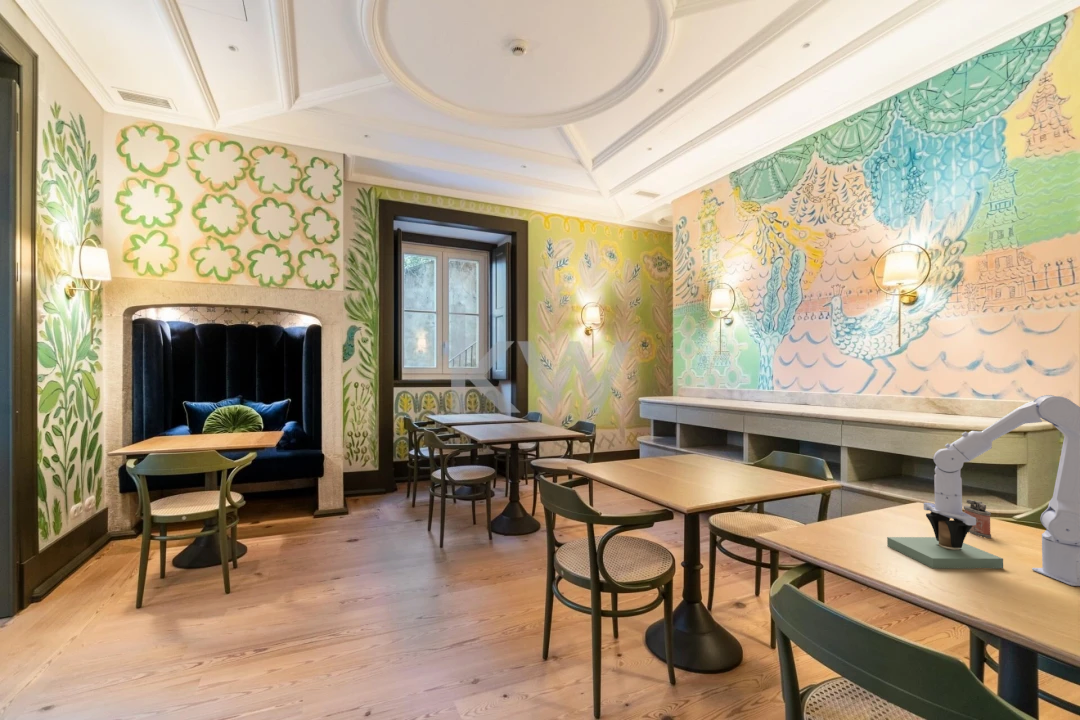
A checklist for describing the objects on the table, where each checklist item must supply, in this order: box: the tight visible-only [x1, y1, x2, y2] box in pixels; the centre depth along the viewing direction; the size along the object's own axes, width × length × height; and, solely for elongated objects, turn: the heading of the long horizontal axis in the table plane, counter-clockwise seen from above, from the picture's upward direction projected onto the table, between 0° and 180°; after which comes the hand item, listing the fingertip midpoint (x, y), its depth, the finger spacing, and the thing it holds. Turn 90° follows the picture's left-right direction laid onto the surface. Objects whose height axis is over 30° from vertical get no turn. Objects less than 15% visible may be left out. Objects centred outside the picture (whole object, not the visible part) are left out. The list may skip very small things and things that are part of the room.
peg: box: [939, 521, 960, 550], centre depth 131 cm, size 4×4×9 cm
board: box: [886, 536, 1004, 570], centre depth 131 cm, size 16×18×2 cm
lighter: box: [963, 498, 992, 539], centre depth 151 cm, size 8×3×10 cm, turn 179°
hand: (948, 544), depth 131 cm, fingers closed on peg, 4 cm apart
